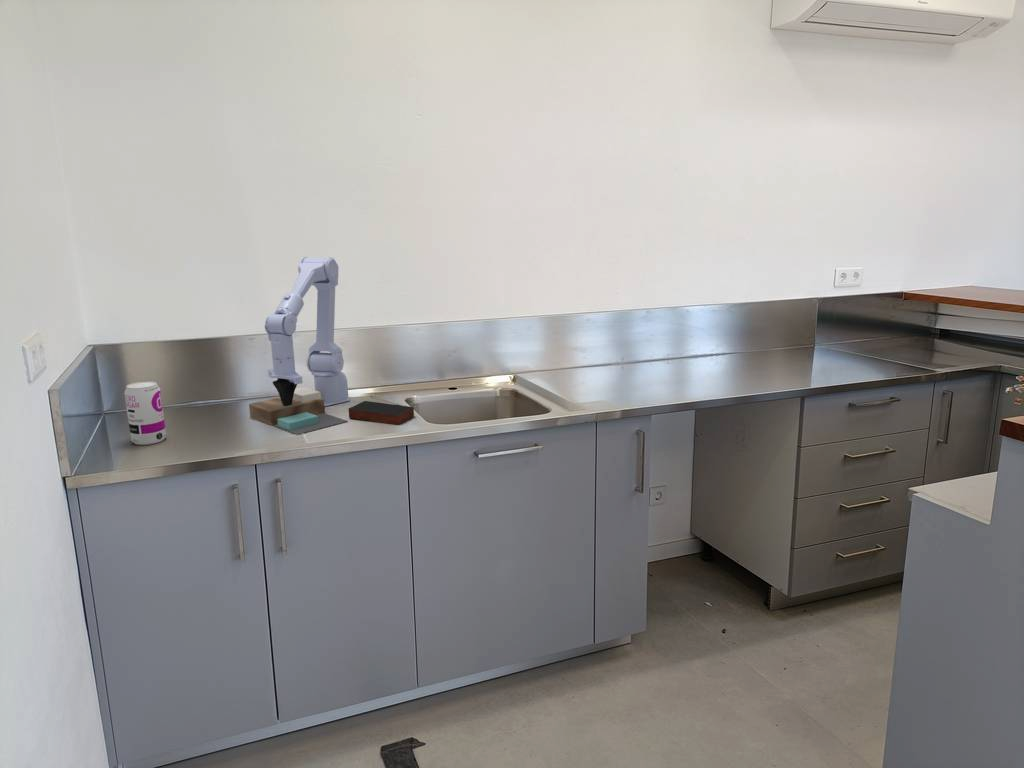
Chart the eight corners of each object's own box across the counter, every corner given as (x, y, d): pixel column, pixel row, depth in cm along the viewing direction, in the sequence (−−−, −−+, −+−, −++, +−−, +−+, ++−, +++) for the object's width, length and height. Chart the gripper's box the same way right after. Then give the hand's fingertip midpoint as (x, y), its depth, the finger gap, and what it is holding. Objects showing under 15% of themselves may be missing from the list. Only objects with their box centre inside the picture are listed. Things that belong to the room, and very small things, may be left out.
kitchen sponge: (399, 426, 201) (425, 411, 214) (398, 415, 200) (425, 401, 213) (342, 418, 207) (371, 403, 221) (341, 408, 206) (370, 394, 220)
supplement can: (171, 435, 193) (164, 380, 190) (158, 445, 185) (150, 388, 182) (140, 436, 193) (133, 381, 189) (125, 446, 185) (117, 389, 181)
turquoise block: (318, 416, 201) (318, 423, 202) (306, 412, 205) (306, 418, 206) (288, 423, 195) (289, 430, 195) (277, 419, 199) (277, 426, 199)
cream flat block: (286, 397, 215) (285, 390, 214) (304, 393, 219) (303, 386, 219) (302, 402, 209) (302, 395, 208) (321, 398, 213) (320, 391, 213)
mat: (323, 413, 212) (323, 413, 212) (347, 421, 204) (347, 420, 204) (273, 426, 200) (273, 425, 200) (296, 435, 192) (296, 434, 192)
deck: (302, 405, 221) (301, 392, 220) (324, 412, 213) (323, 399, 212) (250, 417, 209) (248, 403, 208) (271, 425, 201) (270, 411, 200)
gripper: (256, 356, 202) (261, 403, 205) (283, 363, 192) (288, 412, 195) (279, 352, 207) (283, 398, 210) (307, 359, 197) (311, 407, 200)
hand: (287, 405), depth 203 cm, fingers closed
